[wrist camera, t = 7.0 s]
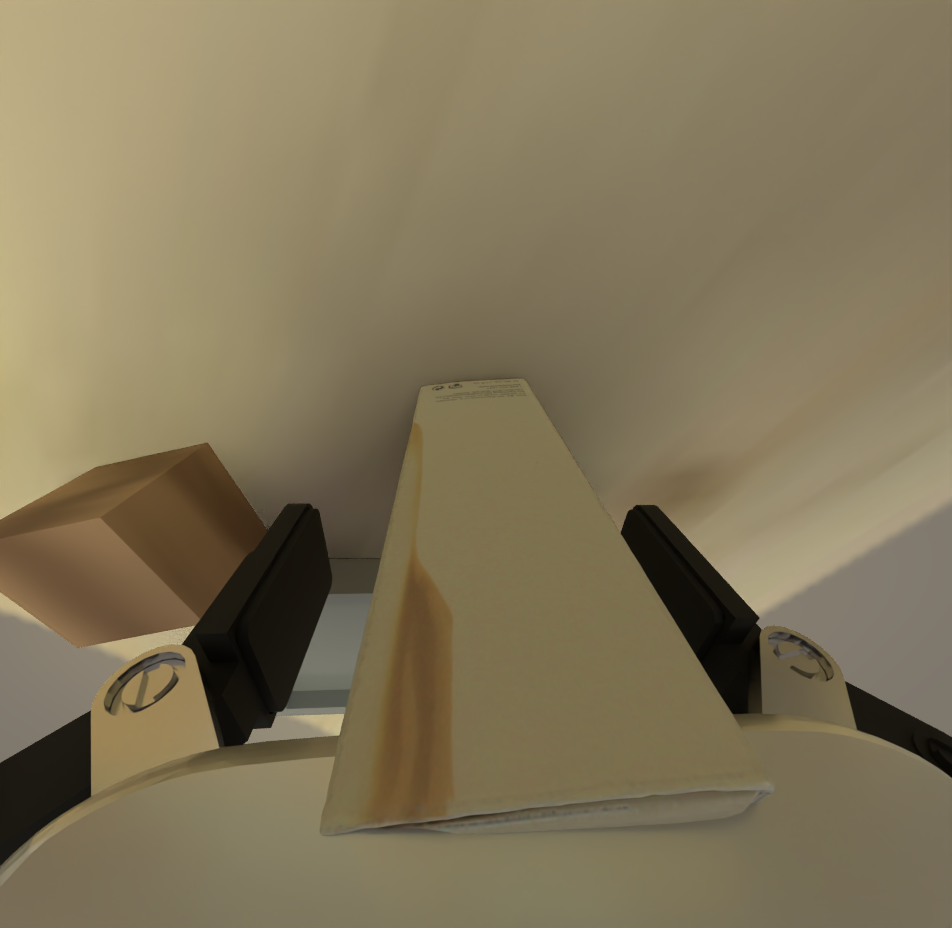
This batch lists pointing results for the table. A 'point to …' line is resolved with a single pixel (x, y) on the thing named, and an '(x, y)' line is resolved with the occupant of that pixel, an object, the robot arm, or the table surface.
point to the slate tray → (335, 641)
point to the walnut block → (129, 546)
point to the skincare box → (522, 651)
